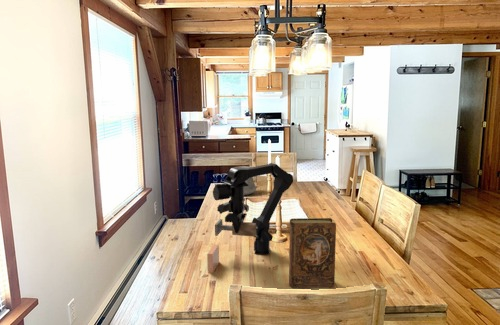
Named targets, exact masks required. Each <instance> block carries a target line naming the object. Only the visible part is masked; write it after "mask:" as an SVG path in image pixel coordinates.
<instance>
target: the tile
mask: <svg viewBox="0 0 500 325" xmlns="http://www.w3.org/2000/svg"><path fill="white" fill-rule="evenodd" d="M219 249H220V246H219V244H213V245H212V247H211V248H210V250H209V251H208V252H207V260H206V261H207V272H208V273H211V274H212V273H214V272H215V270H216V268H217V267H218V264H219V263H220V250H219Z"/></svg>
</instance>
